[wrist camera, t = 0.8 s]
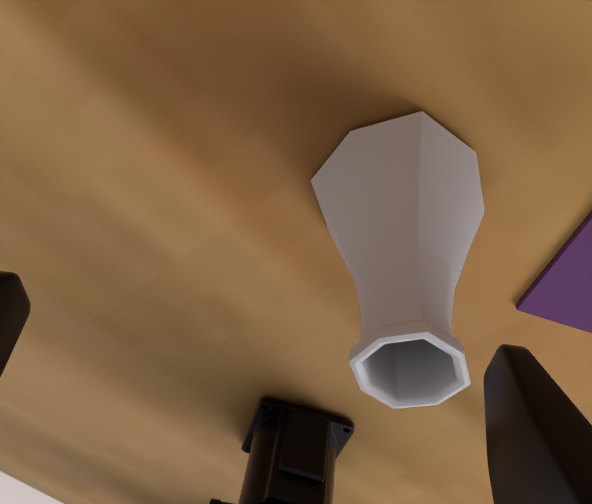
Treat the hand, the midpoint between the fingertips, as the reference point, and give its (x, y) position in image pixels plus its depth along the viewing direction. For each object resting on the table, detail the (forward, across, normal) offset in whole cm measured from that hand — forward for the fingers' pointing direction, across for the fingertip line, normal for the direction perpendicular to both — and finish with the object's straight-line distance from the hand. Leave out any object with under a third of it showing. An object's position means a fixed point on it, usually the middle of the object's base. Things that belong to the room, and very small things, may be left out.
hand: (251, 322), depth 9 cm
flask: (+13, -4, +5) cm, 14 cm away
